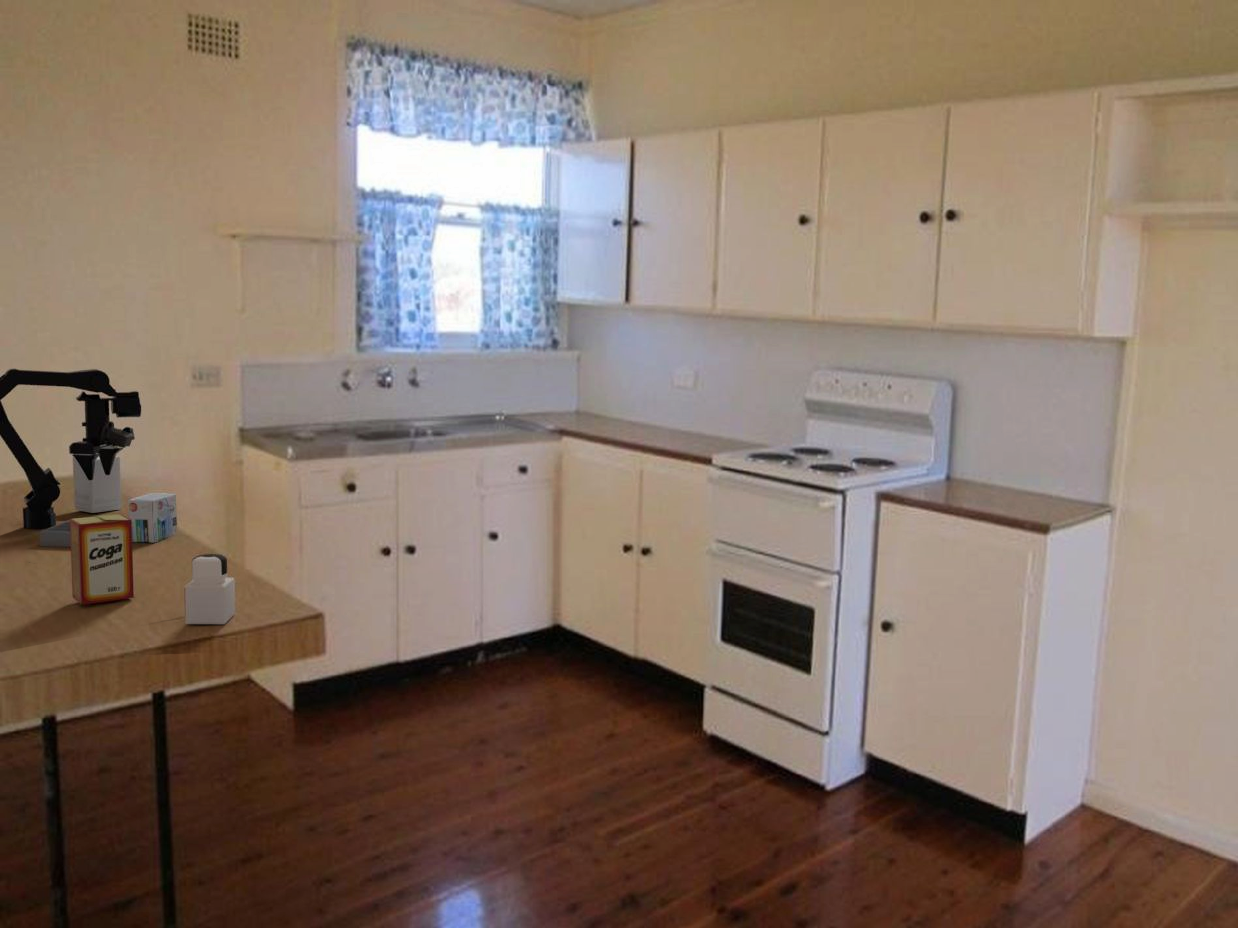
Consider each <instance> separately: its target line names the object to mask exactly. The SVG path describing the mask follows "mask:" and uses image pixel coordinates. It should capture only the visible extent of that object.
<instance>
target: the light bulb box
mask: <svg viewBox="0 0 1238 928" xmlns="http://www.w3.org/2000/svg"><path fill="white" fill-rule="evenodd" d="M177 510H178V509H177V494H176V493H166V492H165V493H162V492H150V493H146V494H144V495H140V496H138V497H133V498H131V499H128V500H127V514H128V515H127V516H128V517H127V518H129V519H131V521H132V543H151V544H152V543H154V544H155V543H157V542H161V541H163V540H165V538H166V539H168V538H167V537H169V538H170V536H171V535H174V534H176V533H177V532H178V517H177V516H178V515H177V514H178V513H177V512H178V511H177ZM176 535H177V534H176ZM174 536H175V535H174ZM171 537H172V536H171Z"/></svg>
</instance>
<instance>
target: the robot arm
mask: <svg viewBox="0 0 1238 928" xmlns="http://www.w3.org/2000/svg"><path fill="white" fill-rule="evenodd" d="M20 385H21V386H37V387H38V386H40V387H41V386H43V387H65V388H73V389H76V390H77V389H78V390H82V391H81V393H80V394H79V395H78V396H77V397H76V398H75V400H76V401H78V402H84V421H83V422H81V427H85V437H83V438H82V441H80V440H79V441H76V442H72V443H71V444H70V445H69V446H68V452H69V454H70V455H71V456H72V458H73V457H75V459H76V460H77V462H78V463H79V465H80V466H81V468H82V470H83V472H84V473H85V475H86V477H87V479H88V480H93V477H94V468H95V460H96V459H97V458H98V457H99V458H100V461H101V464H102V467H103V470H104V472H105V475H110V473H111V470H112V466H113V463H114V459H115V457H117V455H118V453H119V452H121V451H122V450H123V449H124V448H127V447H130V446H131V443H132V441H135V439H136V438H135V433H134V428H133V427H130V426H126V427H124V428H117V427H115V423H114V422H113V421H110V412H111V415H113V414H115V417H116V418H140V417H141V415H142V404H141V400H140V399H141V398H140V396H139V395H140V392H139V391H136V390H135V391H134V390H133V391H117V390H116V389H115V388H113V386H112V385H111V383H110V377H109V376H108V374H107V373H106V372H104V371H102V370H101V369H97V368H92V369H91V368H90V369H84V370H75V371H53V370H52V371H50V370H29V369H17V368H10V369H7V370H6V371H5V373H4V374H2V375H1V376H0V437H1V439H2V440H3V442H4V443H5V445H6V446H7V448H8V449H9V450H10V452H11V454H12V455H13V457H14V458H15V459H16V461H17V463H18V464H19V466H20V467H21V468H22V470H23V472H24V473H25V476H26V478H27V481H28V483H29V486H30V488H31V490H30V491H29V493H27V494H26V495H25V496H24V497H23V501H24V503H25V505H26V506H24V507H22V519H23V520H22V524H23V529H27V530H45V529H47V528H50V527H53V526H55V525H57V520H56V518H57V516H56V515H57V514H56V512H55V510H54V506H52V505H53V503H54V502H56V501H57V500H58V498H59V497H60V495H61V488H60V486H61V483H60V481H59V480H58V479H57V478H56V477H55V475H54V473H53V471H52V469H51V468H50V467H47V468H46V469H45V470H44V468H42V467H41V466H40V464H39V462H37V460H36V459H35V457H34V456H33V454H32V453H31V452H30V449H29V448H28V447H27V445H26V444H25V442H24V441H23V439H22V438H21V436H20V434H18V432H17V431H16V429H15V428H14V426H13V424H12V423H11V421H10V420H9V417H8V415H7V413H6V409H5V408H4V405H3V403H2V401H1V400H3V399H4V398H5V397H6V396H7V395H8V394H10V393H11V392H12V391H13V390H14V389H15V388H16V387H17V386H20ZM85 391H86V392H85ZM87 392H91V394H90V393H87ZM93 393H94V394H93ZM100 393H102V394H104V395H106V396H108V397H101V396H100Z"/></svg>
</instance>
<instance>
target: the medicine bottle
mask: <svg viewBox="0 0 1238 928" xmlns="http://www.w3.org/2000/svg"><path fill="white" fill-rule="evenodd" d="M191 578H192V580H191V581H190V582H189V583H188V584H186V585H185V586H184V621H185V624H186V625H226V624H227V623H228V622H229V620H230V619H231V618H232V617H233V616H234V615H235V614H236V593H235V592H236V591H235V590H236V589H235V588H236V587H235V584H236V583H235V578H234V577H228V558H227V557H226V556H224V555H222V554H218V553H205V554H200V555H197V556H195V557H194V558H192V560H191Z"/></svg>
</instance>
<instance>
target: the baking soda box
mask: <svg viewBox="0 0 1238 928" xmlns="http://www.w3.org/2000/svg"><path fill="white" fill-rule="evenodd" d="M69 520H70V541H71V547H70V564H71V565H70V566H71V593H72V598H73V600H75V601H76V602H78V603H79V604H80V605H81V606H82V605H83V606H84V605H90V604H91V605H92V604H96V603H97V604H98V603H105V602H112V601H119V600H126V599H134V561H133V558H134V557H133V542H132V521H131V519H129V518H128V517H127V516H126V515H123V514H122V513H121V514H106V515H105V514H104V515H96V516H90V517H89V516H87V517H78V518H75V517H74V518H70V519H69Z"/></svg>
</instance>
